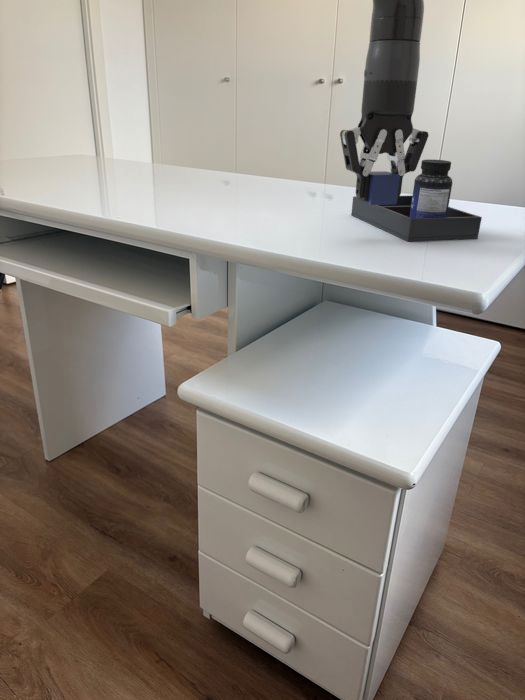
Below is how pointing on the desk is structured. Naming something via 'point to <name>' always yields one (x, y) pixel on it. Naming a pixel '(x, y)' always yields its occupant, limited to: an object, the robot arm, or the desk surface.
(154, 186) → the desk surface
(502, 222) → the desk surface
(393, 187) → the navy block
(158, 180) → the desk surface
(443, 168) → the pill bottle
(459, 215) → the sorting tray
